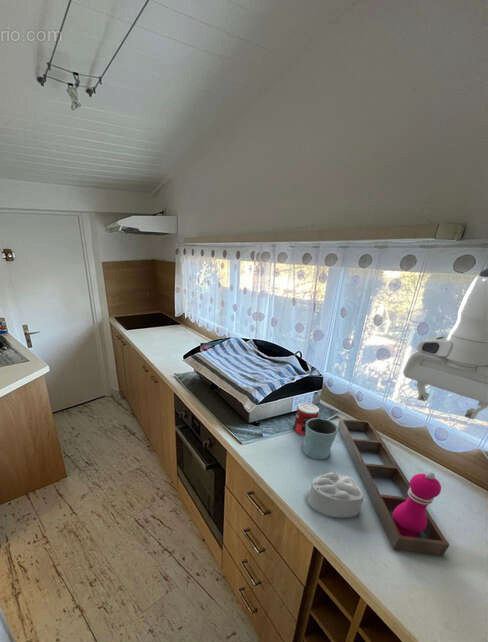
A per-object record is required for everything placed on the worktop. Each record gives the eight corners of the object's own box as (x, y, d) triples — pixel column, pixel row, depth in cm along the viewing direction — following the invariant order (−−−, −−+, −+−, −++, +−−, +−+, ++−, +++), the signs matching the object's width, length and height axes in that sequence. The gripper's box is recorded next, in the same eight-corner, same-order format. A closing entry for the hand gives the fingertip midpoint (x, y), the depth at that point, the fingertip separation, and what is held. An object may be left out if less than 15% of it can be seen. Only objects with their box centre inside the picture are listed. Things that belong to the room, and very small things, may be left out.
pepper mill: (419, 526, 82) (448, 468, 72) (420, 547, 76) (452, 488, 67) (388, 515, 85) (412, 459, 76) (387, 534, 80) (413, 476, 70)
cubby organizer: (366, 431, 121) (370, 421, 119) (441, 558, 74) (449, 545, 71) (337, 429, 123) (340, 418, 121) (391, 551, 75) (398, 538, 73)
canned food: (300, 423, 127) (304, 400, 122) (318, 432, 121) (323, 408, 116) (289, 430, 123) (293, 406, 117) (307, 439, 117) (312, 415, 112)
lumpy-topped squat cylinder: (361, 519, 84) (370, 496, 80) (314, 519, 84) (320, 496, 80) (345, 491, 93) (352, 469, 89) (302, 491, 93) (307, 469, 89)
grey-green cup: (328, 447, 113) (335, 419, 107) (332, 464, 104) (340, 435, 98) (299, 443, 115) (305, 416, 109) (301, 460, 106) (307, 431, 101)
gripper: (545, 362, 57) (509, 425, 63) (424, 336, 72) (405, 388, 79) (534, 369, 54) (497, 434, 60) (410, 340, 69) (391, 394, 76)
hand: (444, 408), depth 70 cm, fingers open, 8 cm apart
